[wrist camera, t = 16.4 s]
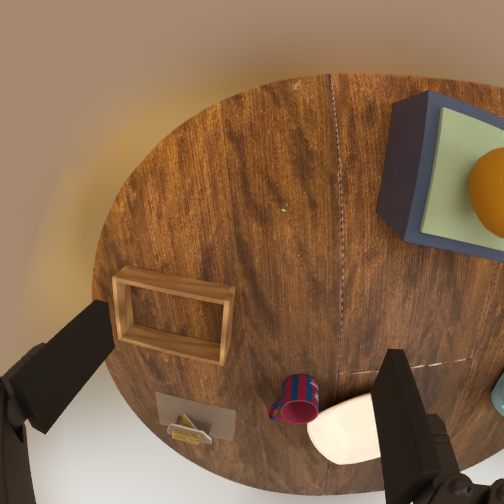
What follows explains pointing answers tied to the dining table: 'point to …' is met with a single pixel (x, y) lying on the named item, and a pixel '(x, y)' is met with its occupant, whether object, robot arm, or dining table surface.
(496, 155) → the apple
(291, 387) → the mug
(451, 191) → the mat
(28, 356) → the robot arm
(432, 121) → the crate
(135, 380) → the dining table surface
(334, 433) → the bowl
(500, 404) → the teapot
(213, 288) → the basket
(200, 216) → the dining table surface
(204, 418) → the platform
